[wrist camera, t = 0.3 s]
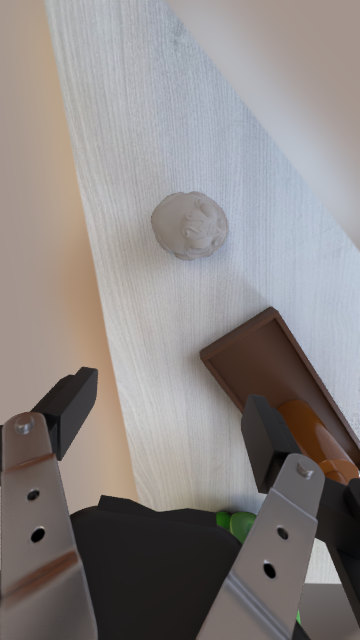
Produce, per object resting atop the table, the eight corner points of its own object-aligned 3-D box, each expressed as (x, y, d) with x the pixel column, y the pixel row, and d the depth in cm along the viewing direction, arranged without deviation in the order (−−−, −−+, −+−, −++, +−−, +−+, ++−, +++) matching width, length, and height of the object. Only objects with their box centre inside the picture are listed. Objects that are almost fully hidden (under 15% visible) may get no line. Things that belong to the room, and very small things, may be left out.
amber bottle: (280, 396, 31) (334, 486, 19) (318, 403, 31) (394, 496, 19) (270, 427, 32) (314, 528, 21) (306, 433, 32) (370, 536, 21)
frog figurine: (212, 265, 27) (219, 271, 20) (151, 249, 26) (138, 251, 20) (227, 207, 25) (241, 193, 18) (162, 190, 25) (153, 170, 18)
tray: (199, 351, 30) (200, 359, 28) (271, 305, 28) (277, 310, 26) (301, 486, 36) (308, 500, 34) (367, 457, 34) (378, 470, 32)
